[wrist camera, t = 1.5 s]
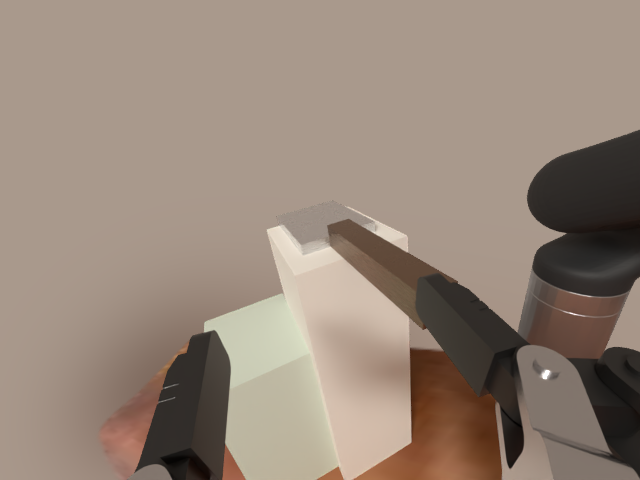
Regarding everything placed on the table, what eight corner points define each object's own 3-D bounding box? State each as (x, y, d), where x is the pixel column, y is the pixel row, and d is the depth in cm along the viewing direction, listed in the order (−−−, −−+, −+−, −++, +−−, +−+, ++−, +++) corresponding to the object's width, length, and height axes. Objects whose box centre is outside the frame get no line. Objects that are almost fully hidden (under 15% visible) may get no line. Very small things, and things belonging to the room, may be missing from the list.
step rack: (362, 367, 46) (339, 202, 32) (411, 442, 34) (407, 235, 21) (251, 422, 40) (171, 250, 27) (267, 533, 29) (142, 329, 16)
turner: (334, 208, 31) (331, 192, 30) (491, 296, 13) (496, 264, 13) (278, 224, 29) (274, 207, 28) (379, 351, 12) (376, 317, 11)
